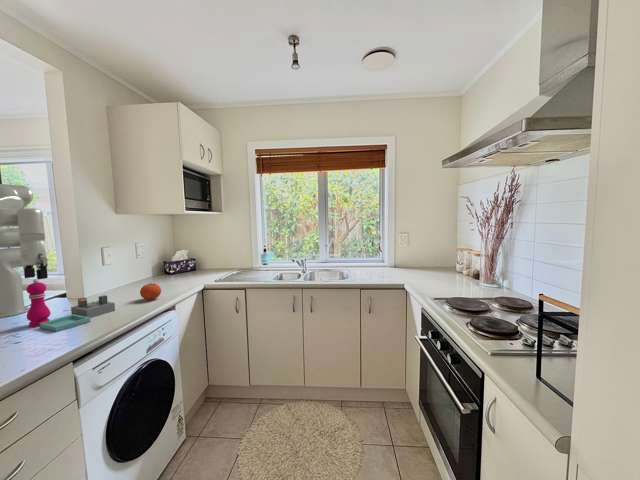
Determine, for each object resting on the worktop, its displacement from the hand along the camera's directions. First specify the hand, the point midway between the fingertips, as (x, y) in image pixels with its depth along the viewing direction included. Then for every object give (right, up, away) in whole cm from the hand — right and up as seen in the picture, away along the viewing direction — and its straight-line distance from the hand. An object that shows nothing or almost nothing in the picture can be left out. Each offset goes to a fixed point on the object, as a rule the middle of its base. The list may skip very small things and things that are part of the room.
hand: (36, 278), depth 118 cm
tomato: (+25, -18, +39) cm, 50 cm away
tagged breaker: (+8, -15, +14) cm, 22 cm away
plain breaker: (+14, -15, +18) cm, 28 cm away
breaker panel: (+11, -19, +16) cm, 28 cm away
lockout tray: (+11, -20, +1) cm, 23 cm away
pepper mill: (0, -21, +2) cm, 21 cm away
